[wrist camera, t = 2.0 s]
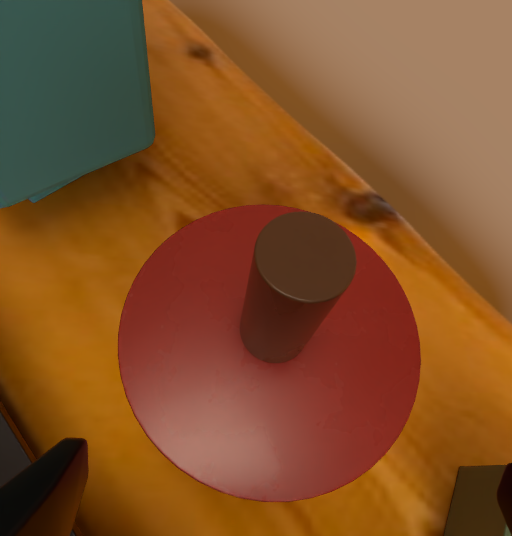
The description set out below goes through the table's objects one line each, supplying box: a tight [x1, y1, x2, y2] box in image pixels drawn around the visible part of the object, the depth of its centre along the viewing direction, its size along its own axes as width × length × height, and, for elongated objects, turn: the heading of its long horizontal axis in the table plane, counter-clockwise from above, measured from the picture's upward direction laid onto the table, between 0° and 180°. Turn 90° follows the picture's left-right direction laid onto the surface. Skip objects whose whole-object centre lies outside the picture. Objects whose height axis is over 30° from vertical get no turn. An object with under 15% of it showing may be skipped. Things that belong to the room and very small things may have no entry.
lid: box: [118, 205, 421, 502], centre depth 14 cm, size 11×11×7 cm
